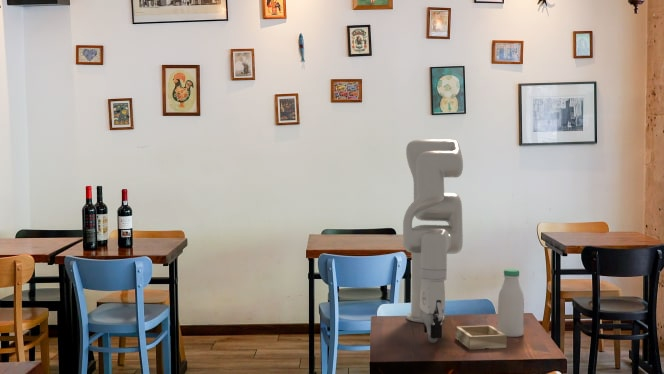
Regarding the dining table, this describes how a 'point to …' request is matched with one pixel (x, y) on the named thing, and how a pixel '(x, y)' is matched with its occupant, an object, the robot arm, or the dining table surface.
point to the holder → (481, 337)
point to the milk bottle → (511, 305)
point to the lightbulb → (429, 325)
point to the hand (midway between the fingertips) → (432, 334)
